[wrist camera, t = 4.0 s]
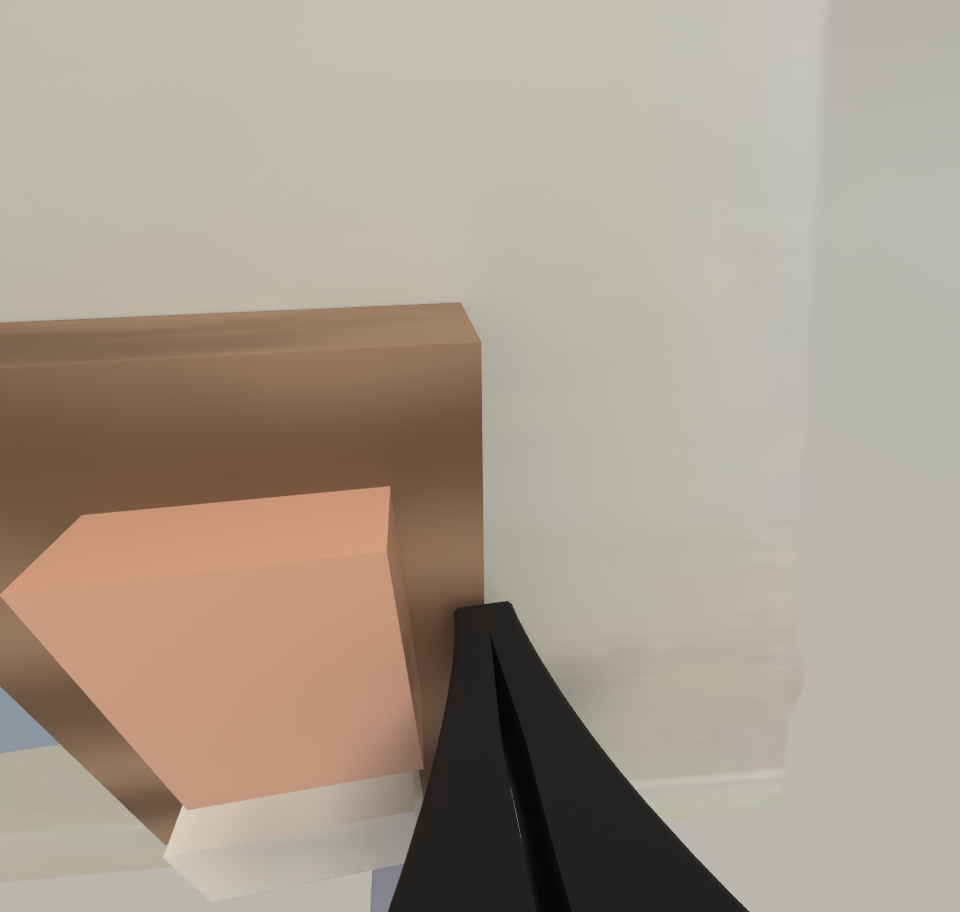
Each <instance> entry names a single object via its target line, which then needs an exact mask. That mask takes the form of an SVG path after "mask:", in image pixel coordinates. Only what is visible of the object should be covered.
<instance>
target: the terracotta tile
mask: <svg viewBox="0 0 960 912" xmlns="http://www.w3.org/2000/svg"><path fill="white" fill-rule="evenodd" d="M0 597H1V598H2V599H3V600H4V601H5V602H6V603H7V605H8V606H9V607H10V608H11V609H12V610H13V611H14V613H15V614H16V615H17V616H18V617H19V618H20V619H21V621H22V622H23V623H24V624H25V625H26V626H27V627H28V629H29V630H30V631H31V632H32V633H33V634H34V635H35V637H36V638H37V639H38V640H39V641H40V642H41V643H42V645H43V646H44V647H45V648H46V649H47V650H48V651H49V653H50V654H51V655H52V656H53V657H54V658H55V659H56V661H57V662H58V663H59V664H60V665H61V666H62V667H63V669H64V670H65V671H66V672H67V673H68V674H69V675H70V677H71V678H72V679H73V680H74V681H75V682H76V683H77V685H78V686H79V687H80V688H81V689H82V690H83V691H84V693H85V694H86V695H87V696H88V697H89V698H90V700H91V701H92V702H93V703H94V704H95V705H96V706H97V708H98V709H99V710H100V711H101V712H102V713H103V714H104V716H105V717H106V718H107V719H108V720H109V721H110V722H111V724H112V725H113V726H114V727H115V728H116V729H117V730H118V732H119V733H120V734H121V735H122V736H123V737H124V738H125V740H126V741H127V742H128V743H129V744H130V745H131V746H132V748H133V749H134V750H135V751H136V752H137V753H138V754H139V756H140V757H141V758H142V759H143V760H144V761H145V762H146V764H147V765H148V766H149V767H150V768H151V769H152V770H153V772H154V773H155V774H156V775H157V776H158V777H159V778H160V780H161V781H162V782H163V783H164V784H165V785H166V786H167V788H168V789H169V790H170V791H171V792H172V793H173V794H174V796H175V797H176V798H177V799H178V800H179V801H180V802H181V804H182V805H183V806H184V807H185V808H186V809H187V810H192V809H198V808H203V807H209V806H215V805H221V804H226V803H232V802H238V801H243V800H249V799H255V798H261V797H266V796H272V795H278V794H284V793H289V792H295V791H301V790H307V789H312V788H318V787H324V786H330V785H335V784H341V783H347V782H353V781H358V780H364V779H370V778H375V777H381V776H387V775H393V774H398V773H404V772H410V771H416V770H421V769H424V760H423V727H422V696H421V689H420V682H419V676H418V669H417V662H416V656H415V649H414V642H413V635H412V629H411V622H410V615H409V608H408V602H407V595H406V588H405V582H404V575H403V568H402V561H401V555H400V548H399V541H398V535H397V528H396V521H395V514H394V508H393V501H392V494H391V487H390V486H387V487H377V488H366V489H355V490H345V491H334V492H324V493H313V494H302V495H292V496H281V497H270V498H260V499H249V500H238V501H228V502H217V503H206V504H196V505H185V506H174V507H164V508H153V509H142V510H132V511H121V512H110V513H100V514H89V515H81V516H80V517H79V518H78V519H77V520H76V521H75V522H74V523H73V524H72V525H71V526H70V527H69V528H68V529H67V530H66V531H65V532H64V533H63V534H62V535H61V536H60V537H59V538H58V539H57V540H56V541H55V542H54V543H53V544H52V545H50V546H49V547H48V548H47V549H46V550H45V551H44V552H43V553H42V554H41V555H40V556H39V557H38V558H37V559H36V560H35V561H34V562H33V563H32V564H31V565H30V566H29V567H28V568H27V569H26V570H25V571H24V572H23V573H22V574H21V575H20V576H18V577H17V578H16V579H15V580H14V581H13V582H12V583H11V584H10V585H9V586H8V587H7V588H6V589H5V590H4V591H3V592H2V593H1V594H0Z"/></svg>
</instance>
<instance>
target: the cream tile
mask: <svg viewBox="0 0 960 912" xmlns="http://www.w3.org/2000/svg"><path fill="white" fill-rule="evenodd" d="M422 802H423V791H422V786H421V781H420V775H419V770H416V771H410V772H404V773H398V774H393V775H387V776H381V777H375V778H370V779H364V780H358V781H353V782H347V783H341V784H335V785H330V786H324V787H318V788H312V789H307V790H301V791H295V792H289V793H284V794H278V795H272V796H266V797H261V798H255V799H249V800H243V801H238V802H232V803H226V804H221V805H215V806H209V807H203V808H198V809H192V810H187V809H186V808H185V807H184V806H183V805H182V808H181V811H180V813H179V816H178V819H177V821H176V824H175V827H174V830H173V832H172V835H171V838H170V840H169V843H168V846H167V848H166V851H165V854H164V857H163V858H164V859H165V860H166V861H167V862H168V863H169V864H170V865H171V866H172V867H174V868H175V869H176V870H177V871H178V872H179V873H180V874H181V875H182V876H183V877H185V878H186V879H187V880H188V881H189V882H190V883H191V884H192V885H193V886H194V887H195V888H197V889H198V890H199V891H200V892H201V893H202V894H203V895H204V896H205V897H207V898H208V899H209V900H210V901H211V902H214V901H219V900H224V899H229V898H234V897H239V896H244V895H249V894H254V893H259V892H264V891H269V890H274V889H279V888H284V887H289V886H294V885H299V884H304V883H309V882H314V881H319V880H324V879H329V878H334V877H339V876H344V875H349V874H354V873H360V872H365V871H370V870H375V869H380V868H385V867H390V866H395V865H400V864H404V862H405V859H406V856H407V852H408V849H409V846H410V843H411V839H412V836H413V833H414V829H415V826H416V823H417V819H418V816H419V813H420V809H421V806H422Z"/></svg>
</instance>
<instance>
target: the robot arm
mask: <svg viewBox="0 0 960 912" xmlns="http://www.w3.org/2000/svg"><path fill="white" fill-rule="evenodd" d="M454 622H455V638H454V651H453V661H452V669H451V676H450V682H449V688H448V695H447V701H446V706H445V711H444V716H443V720H442V725H441V730H440V734H439V739H438V744H437V748H436V752H435V756H434V761H433V765H432V769H431V772H430V776H429V780H428V784H427V787H426V791H425V795H424V798H423V802H422V806H421V809H420V813H419V816H418V819H417V823H416V826H415V829H414V833H413V836H412V839H411V843H410V846H409V849H408V852H407V856H406V859H405V862H404V864H400V865H395V866H390V867H385V868H380V869H375V870H373V871H372V891H371V892H372V893H371V911H370V912H749V911H748V910H747V909H746V908H745V907H744V906H743V905H742V904H741V903H740V902H739V901H738V900H737V899H736V898H735V897H734V896H733V895H732V894H731V893H730V892H729V891H728V890H727V889H726V888H725V887H724V886H723V885H722V884H721V883H720V882H719V881H718V880H717V879H716V878H715V877H714V875H713V874H711V872H709V870H708V869H707V868H706V867H705V866H704V865H703V864H702V863H701V862H700V861H699V860H698V859H697V858H696V857H695V856H694V855H693V854H692V853H691V852H690V850H689V849H688V848H687V847H686V846H685V845H684V844H683V843H682V842H681V841H680V839H679V838H678V837H677V836H676V835H675V834H674V833H673V832H672V831H671V829H670V828H669V827H668V826H667V825H666V824H665V823H664V822H663V820H662V819H661V818H660V817H659V816H658V815H657V814H656V813H655V812H654V811H653V809H652V808H651V807H650V806H649V805H648V804H647V803H646V802H645V800H644V799H643V798H642V797H641V796H640V795H639V793H638V792H637V791H636V790H635V789H634V787H633V786H632V785H631V784H630V783H629V781H628V780H627V779H626V778H625V777H624V775H623V774H622V773H621V772H620V771H619V769H618V768H617V767H616V766H615V764H614V763H613V762H612V761H611V759H610V758H609V757H608V755H607V754H606V753H605V752H604V750H603V749H602V748H601V747H600V745H599V744H598V743H597V741H596V740H595V739H594V737H593V736H592V735H591V733H590V732H589V731H588V729H587V728H586V727H585V725H584V724H583V722H582V721H581V720H580V718H579V717H578V715H577V714H576V712H575V711H574V710H573V708H572V707H571V705H570V704H569V703H568V701H567V700H566V698H565V697H564V695H563V694H562V692H561V691H560V689H559V688H558V686H557V684H556V683H555V681H554V680H553V678H552V677H551V675H550V673H549V672H548V670H547V669H546V667H545V666H544V664H543V662H542V661H541V659H540V657H539V656H538V654H537V652H536V651H535V649H534V647H533V645H532V644H531V642H530V640H529V638H528V636H527V635H526V633H525V631H524V629H523V627H522V625H521V623H520V621H519V619H518V617H517V615H516V613H515V611H514V608H513V606H512V604H511V603H509V602H508V601H505V602H497V603H490V604H482V605H474V606H466V607H458V608H457V609H456V610H455V611H454ZM512 796H513V798H512ZM513 800H514V803H513ZM514 804H515V808H514ZM515 809H516V812H515ZM516 814H517V817H516ZM517 819H518V822H517ZM518 824H519V827H518ZM519 829H520V832H519ZM520 835H521V837H520ZM521 841H522V842H521Z"/></svg>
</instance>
